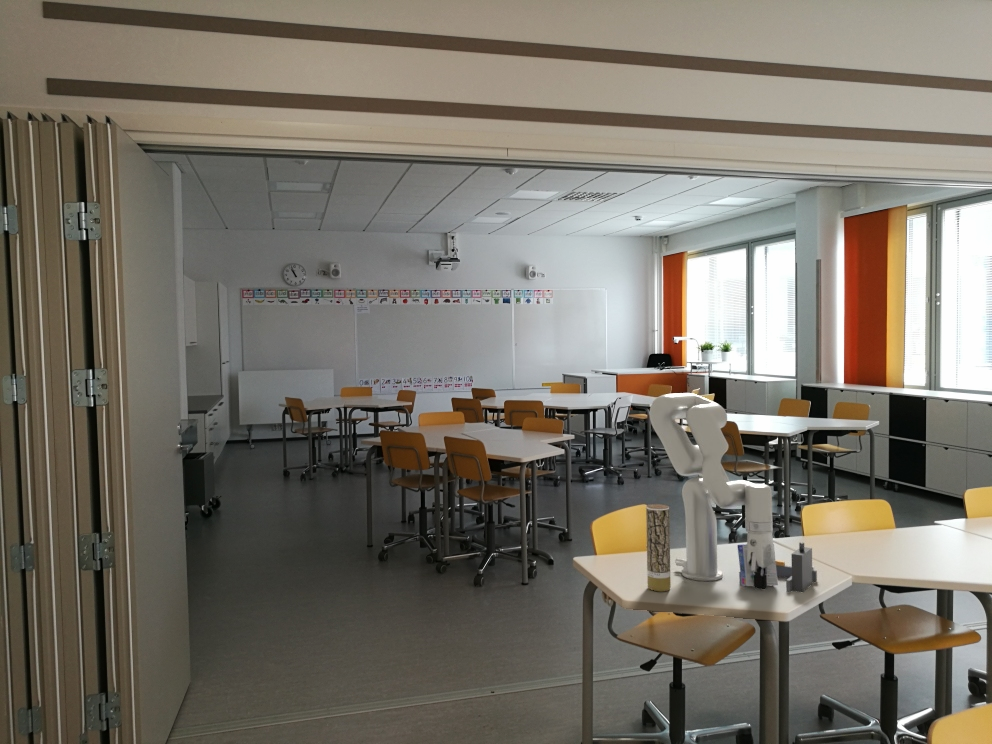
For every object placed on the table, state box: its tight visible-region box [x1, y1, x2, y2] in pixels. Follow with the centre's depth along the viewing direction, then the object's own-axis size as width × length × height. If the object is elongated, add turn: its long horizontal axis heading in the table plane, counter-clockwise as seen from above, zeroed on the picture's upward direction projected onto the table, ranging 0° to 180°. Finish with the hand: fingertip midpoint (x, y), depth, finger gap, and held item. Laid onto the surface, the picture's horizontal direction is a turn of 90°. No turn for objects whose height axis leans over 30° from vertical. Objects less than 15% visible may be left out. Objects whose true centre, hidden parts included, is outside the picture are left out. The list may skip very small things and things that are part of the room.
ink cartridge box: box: [737, 543, 779, 587], centre depth 217 cm, size 10×6×14 cm, turn 91°
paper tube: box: [645, 503, 671, 592], centre depth 216 cm, size 7×7×25 cm
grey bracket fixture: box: [738, 541, 818, 593], centre depth 219 cm, size 18×15×13 cm
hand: (760, 588), depth 211 cm, fingers closed
